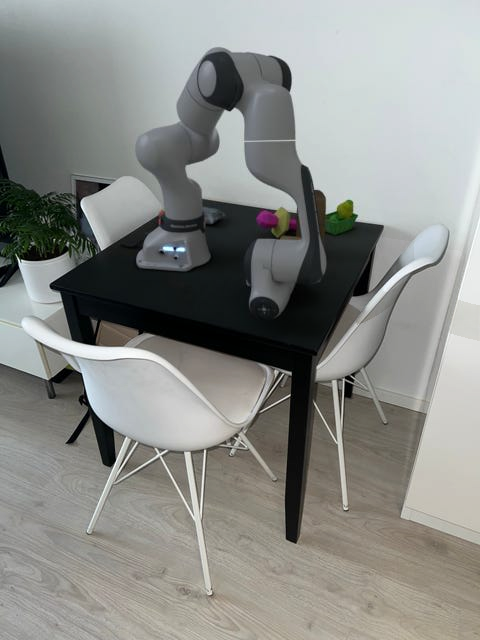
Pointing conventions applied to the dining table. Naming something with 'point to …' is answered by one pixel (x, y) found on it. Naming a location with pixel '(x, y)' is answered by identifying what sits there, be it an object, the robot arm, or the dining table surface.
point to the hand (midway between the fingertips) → (289, 255)
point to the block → (321, 214)
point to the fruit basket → (341, 218)
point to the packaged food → (212, 215)
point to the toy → (276, 221)
